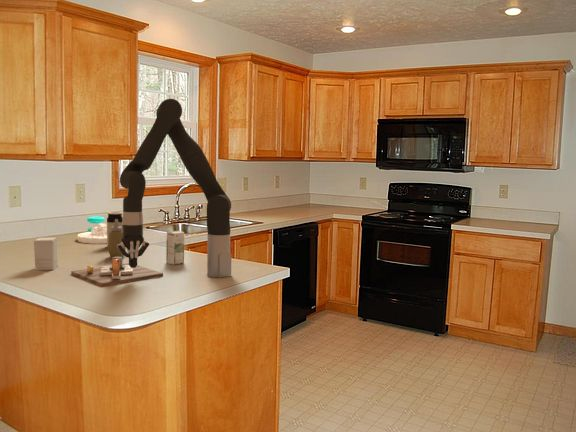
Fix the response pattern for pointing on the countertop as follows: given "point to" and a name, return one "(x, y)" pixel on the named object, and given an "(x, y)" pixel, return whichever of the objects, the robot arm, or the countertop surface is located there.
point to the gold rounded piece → (89, 269)
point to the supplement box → (45, 253)
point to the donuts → (94, 221)
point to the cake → (94, 235)
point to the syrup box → (175, 247)
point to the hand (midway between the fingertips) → (132, 267)
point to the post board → (106, 280)
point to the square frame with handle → (116, 270)
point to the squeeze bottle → (115, 240)
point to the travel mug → (111, 220)
